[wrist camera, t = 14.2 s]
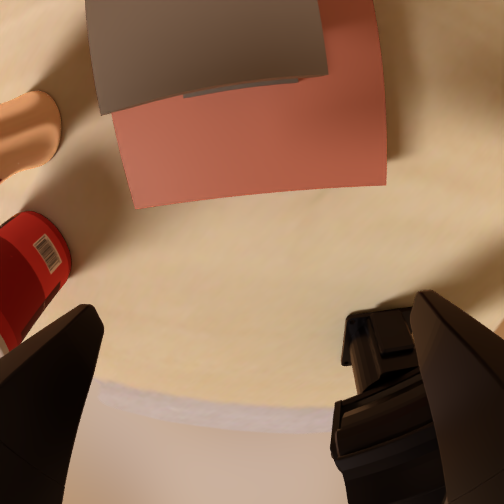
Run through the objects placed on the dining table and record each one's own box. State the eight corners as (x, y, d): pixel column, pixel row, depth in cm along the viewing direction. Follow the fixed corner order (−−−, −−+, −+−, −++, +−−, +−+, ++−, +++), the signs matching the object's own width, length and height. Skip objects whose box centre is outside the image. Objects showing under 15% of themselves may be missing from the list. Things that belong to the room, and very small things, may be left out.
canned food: (15, 193, 19) (-73, 261, 10) (80, 235, 21) (-2, 329, 12) (12, 256, 23) (-52, 326, 13) (69, 295, 25) (12, 381, 15)
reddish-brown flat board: (369, 169, 17) (386, 185, 15) (153, 191, 19) (135, 209, 16) (333, -81, 8) (342, -102, 5) (116, -45, 10) (94, -58, 7)
